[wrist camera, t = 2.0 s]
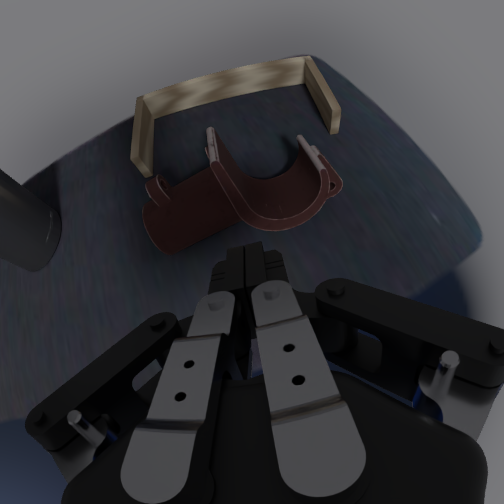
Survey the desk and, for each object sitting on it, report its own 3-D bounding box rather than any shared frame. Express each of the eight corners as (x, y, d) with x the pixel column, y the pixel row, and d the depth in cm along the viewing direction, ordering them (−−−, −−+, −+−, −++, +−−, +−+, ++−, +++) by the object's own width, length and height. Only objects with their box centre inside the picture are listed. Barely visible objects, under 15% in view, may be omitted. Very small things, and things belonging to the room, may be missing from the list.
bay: (145, 177, 33) (130, 158, 29) (148, 116, 36) (136, 97, 33) (338, 133, 31) (341, 109, 27) (309, 78, 35) (309, 55, 31)
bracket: (354, 205, 25) (324, 108, 18) (190, 280, 29) (121, 215, 22) (330, 169, 29) (297, 84, 22) (188, 236, 33) (131, 174, 26)
